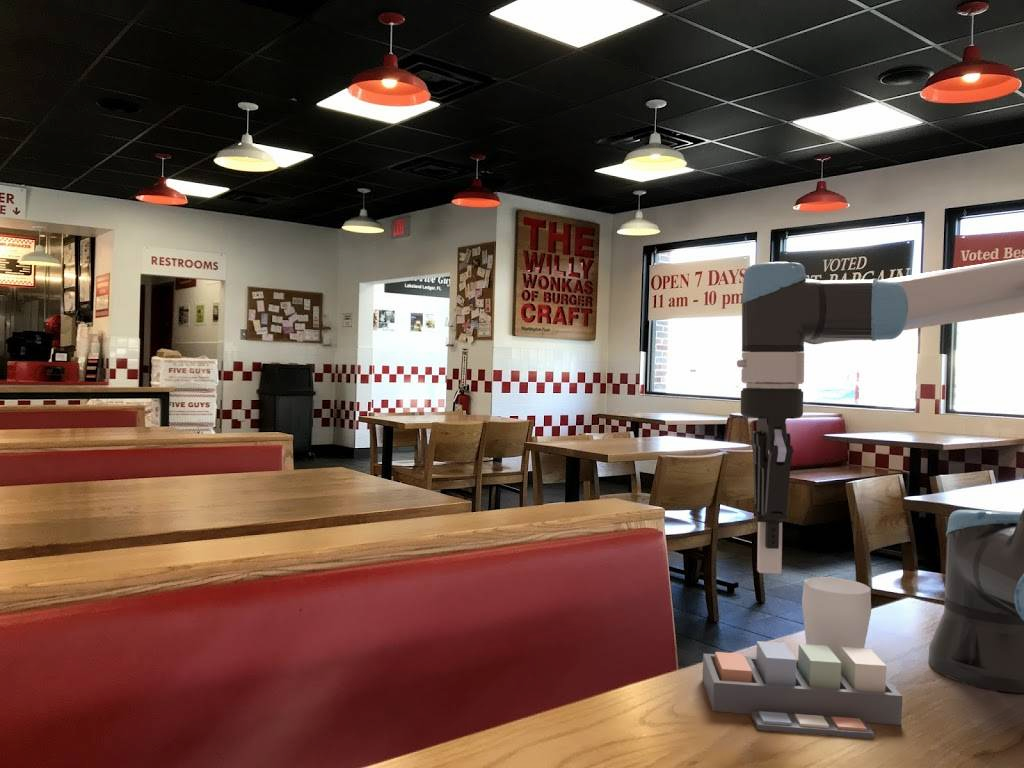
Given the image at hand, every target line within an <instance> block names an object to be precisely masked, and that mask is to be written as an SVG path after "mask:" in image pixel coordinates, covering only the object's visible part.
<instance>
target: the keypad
mask: <svg viewBox="0 0 1024 768" xmlns="http://www.w3.org/2000/svg"><path fill="white" fill-rule="evenodd" d="M702 655H703V656H702V657H703V658H702V682H703V686H704V688H705V691H706V695H707V697H708V700H709V703H710V706H711V709H712V711H713V712H719V713H720V712H724V713H732V714H734V713H736V714H738V713H739V714H747V715H748V714H750V715H752V711H754V712H759V711H764V712H777V713H787V714H794V715H795V714H804V715H818V716H823V717H845V718H858V719H861V720H865V722H866V723H867V724H882V725H884V724H885V725H893V726H895V725H896V726H897V725H898V726H901V725H902V718H903V717H902V714H903V712H902V711H903V695H902V694H901V692H900V691H898V689H896V687H895V686H894V685H893V684H892V683H891V682H890V681H889V679H887V678H886V688H885V692H875V691H861V690H854V689H853V688H852V687H851V686H850V684H849V683H848V682H847V680H846V679H845V678H844V677H843V675H842V674H841V681H840V689H832V688H818V687H809V686H808V685H807V683H806V682H805V680H804V679H803V677H802V676H801V674H800V673H799V671H798V659H796V660H797V662H796V686H790V685H776V684H764V682H763V680H762V678H761V676H760V674H759V672H758V670H757V668H756V656H747V655H746V656H745V655H744V656H745V658H746V660H747V662H748V664H749V666H750V668H751V670H752V682H751V683H747V682H733V681H720V680H719V677H718V675H717V672H716V670H715V653H703V654H702Z"/></svg>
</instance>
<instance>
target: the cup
mask: <svg viewBox="0 0 1024 768" xmlns="http://www.w3.org/2000/svg"><path fill="white" fill-rule="evenodd" d="M871 591H872V590H871V588H870V586H868V585H867V584H865V583H861V582H858V581H856V580H851V579H847V578H839V577H831V576H816V577H809V578H805V579H804V581H803V591H802V597H801V606H802V615H803V616H802V617H803V626H804V635H805V644H808V645H823V646H828V647H829V648H830V650H831V651H832V652H833V653H834V655H835V656H836V657H837V658H838V659H839V661H840V657H841V647H854V648H865V645H866V639H867V636H868V632H869V631H868V630H869V625H870V620H871V616H872V604H871V603H872V601H871V597H872V595H871V594H872V593H871Z"/></svg>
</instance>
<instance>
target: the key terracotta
mask: <svg viewBox="0 0 1024 768" xmlns="http://www.w3.org/2000/svg"><path fill="white" fill-rule="evenodd" d="M714 654H715V670H716V672H717V675H718V677H719V680H720V681H733V682H747V683H751V682H752V670H751V668H750V666H749V664H748V662H747V660H746V658H745V655H744V653H739V652H724V651H723V652H722V651H715V653H714Z"/></svg>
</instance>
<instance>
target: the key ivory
mask: <svg viewBox="0 0 1024 768" xmlns="http://www.w3.org/2000/svg"><path fill="white" fill-rule="evenodd" d="M840 662H841V674H842V675H843V677H844V678H845V679H846V680H847V682H848V683H849V684H850V686H851V687H852V688H853V689H854V690H861V691H875V692H885V688H886V679H887V664H886V663H885V662H884V661H883V660H882V659H881V658H880V657H879V656H878V655H877V654H876V653H875V652H874V651H873V650H872V649H871V648H870V647H869V648H867V647H866V648H865V647H864V648H854V647H841V657H840Z"/></svg>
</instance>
